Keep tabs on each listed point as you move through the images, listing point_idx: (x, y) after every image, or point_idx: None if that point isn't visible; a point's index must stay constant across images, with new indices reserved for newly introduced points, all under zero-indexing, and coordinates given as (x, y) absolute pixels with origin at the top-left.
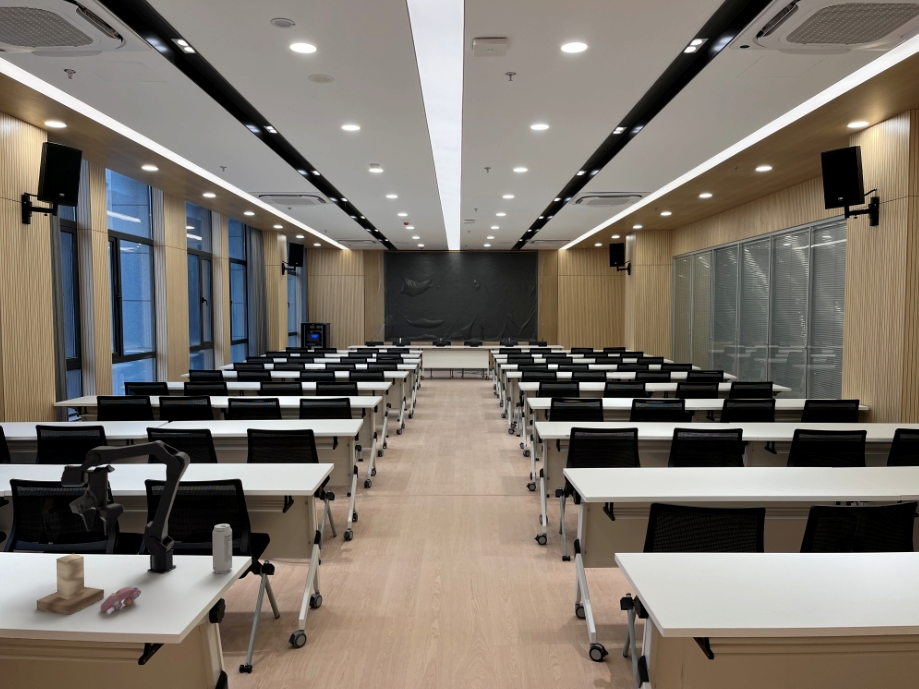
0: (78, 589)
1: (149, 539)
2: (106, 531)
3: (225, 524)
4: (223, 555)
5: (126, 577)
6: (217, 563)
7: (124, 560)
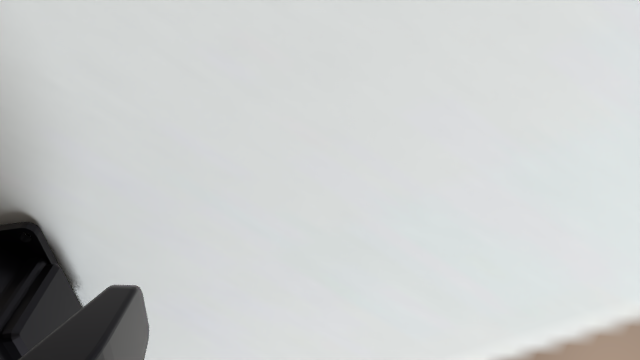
0: None
1: None
2: (32, 356)
3: None
4: None
5: (46, 79)
6: None
7: (423, 292)
